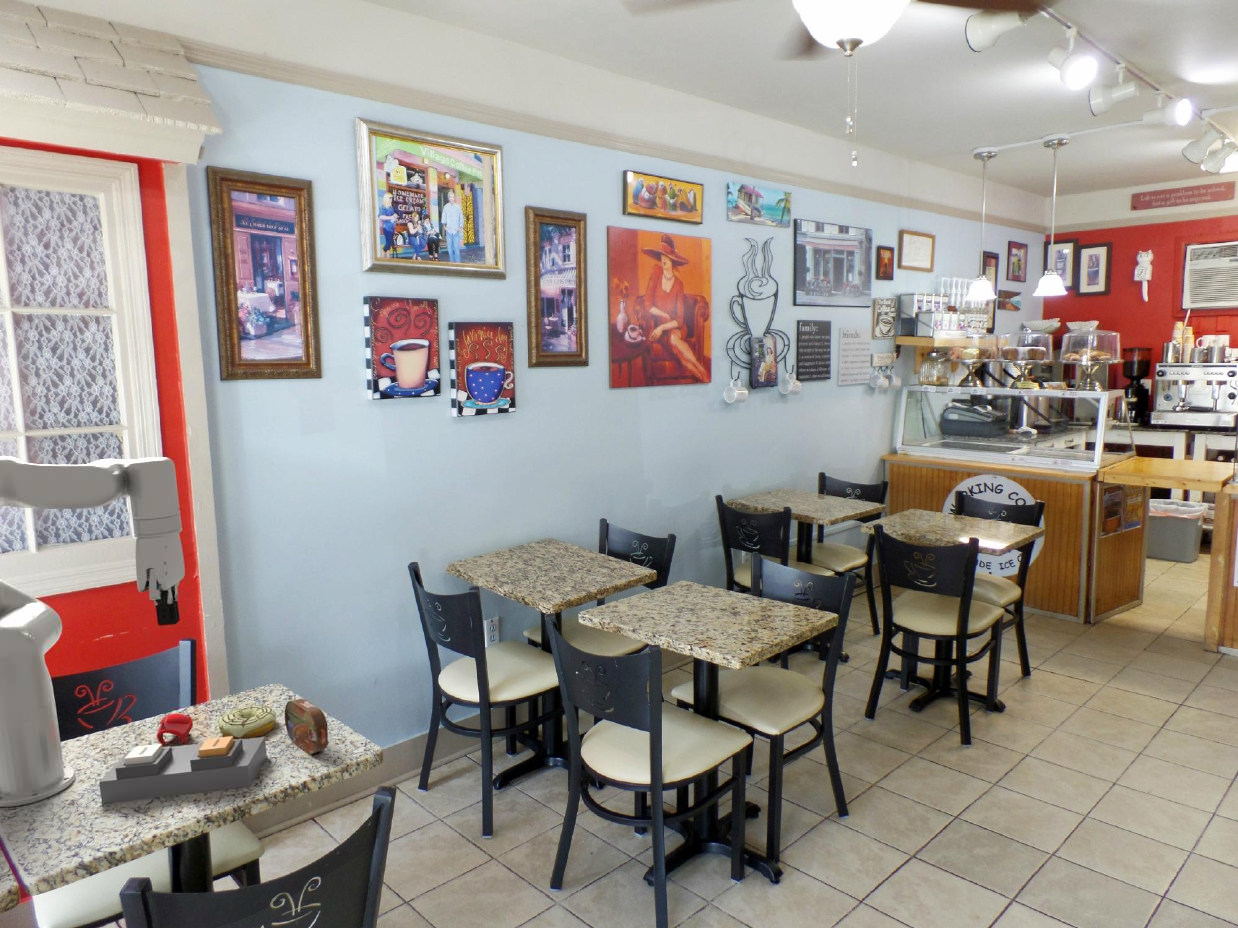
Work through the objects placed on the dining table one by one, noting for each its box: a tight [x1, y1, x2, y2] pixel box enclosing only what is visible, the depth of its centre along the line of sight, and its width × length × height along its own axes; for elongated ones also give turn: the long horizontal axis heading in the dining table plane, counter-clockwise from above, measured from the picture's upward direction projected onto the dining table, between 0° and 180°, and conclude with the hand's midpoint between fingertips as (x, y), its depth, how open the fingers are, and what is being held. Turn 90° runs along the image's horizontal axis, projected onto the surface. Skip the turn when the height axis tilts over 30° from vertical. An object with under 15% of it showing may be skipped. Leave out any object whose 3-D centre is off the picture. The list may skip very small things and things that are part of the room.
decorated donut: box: [218, 704, 277, 740], centre depth 164 cm, size 10×11×4 cm
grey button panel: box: [98, 736, 268, 805], centre depth 144 cm, size 24×11×6 cm, turn 99°
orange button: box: [198, 736, 234, 757], centre depth 143 cm, size 4×4×2 cm
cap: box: [156, 712, 194, 747], centre depth 160 cm, size 8×6×6 cm
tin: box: [284, 698, 329, 755], centre depth 156 cm, size 15×3×8 cm, turn 44°
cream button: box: [124, 743, 163, 765], centre depth 141 cm, size 4×4×2 cm
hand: (169, 623), depth 148 cm, fingers closed
